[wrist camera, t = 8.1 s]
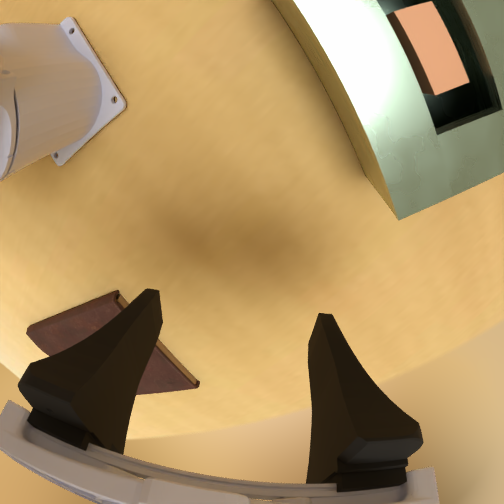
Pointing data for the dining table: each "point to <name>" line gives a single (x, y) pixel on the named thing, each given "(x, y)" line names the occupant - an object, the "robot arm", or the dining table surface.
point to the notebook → (92, 319)
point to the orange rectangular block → (428, 48)
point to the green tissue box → (409, 95)
